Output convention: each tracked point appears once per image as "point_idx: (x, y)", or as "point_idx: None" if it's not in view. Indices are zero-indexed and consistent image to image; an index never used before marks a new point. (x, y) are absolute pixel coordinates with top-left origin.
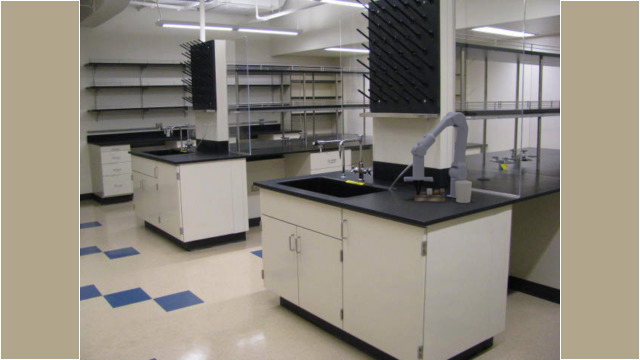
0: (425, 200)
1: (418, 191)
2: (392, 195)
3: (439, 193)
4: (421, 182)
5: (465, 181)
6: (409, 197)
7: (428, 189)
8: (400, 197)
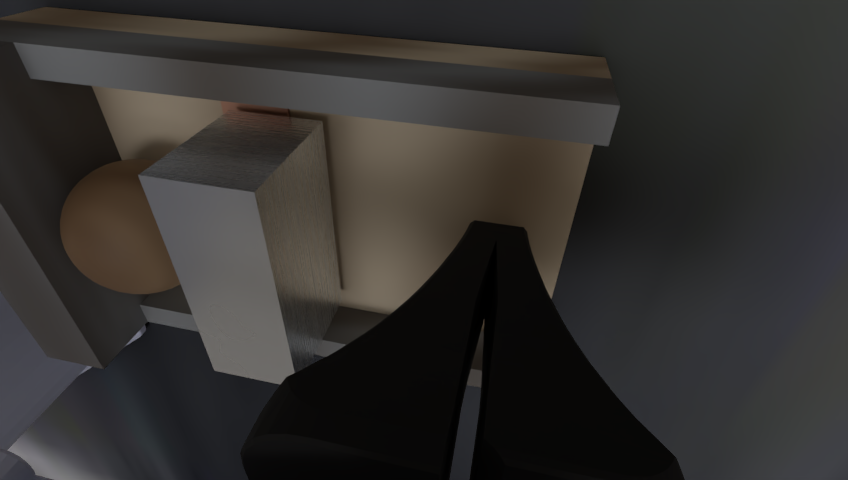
0: (374, 42)
1: (486, 263)
2: (819, 475)
3: (79, 182)
4: (321, 433)
5: None
6: (610, 345)
7: (251, 302)
8: (760, 365)
